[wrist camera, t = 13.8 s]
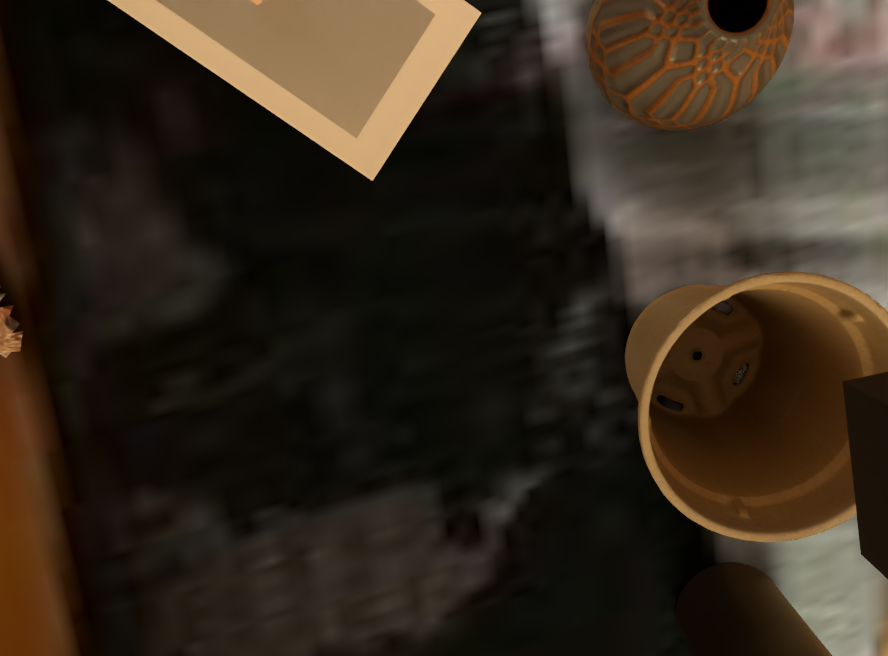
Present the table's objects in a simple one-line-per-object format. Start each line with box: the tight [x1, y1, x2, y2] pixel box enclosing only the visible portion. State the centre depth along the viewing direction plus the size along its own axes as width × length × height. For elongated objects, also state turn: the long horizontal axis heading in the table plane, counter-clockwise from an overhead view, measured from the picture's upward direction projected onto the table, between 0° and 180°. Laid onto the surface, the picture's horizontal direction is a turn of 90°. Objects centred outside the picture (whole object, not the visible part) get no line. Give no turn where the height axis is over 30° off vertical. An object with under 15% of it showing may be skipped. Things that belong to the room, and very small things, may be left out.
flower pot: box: [625, 272, 888, 542], centre depth 29 cm, size 9×9×9 cm
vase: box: [586, 0, 794, 130], centre depth 27 cm, size 7×7×9 cm
